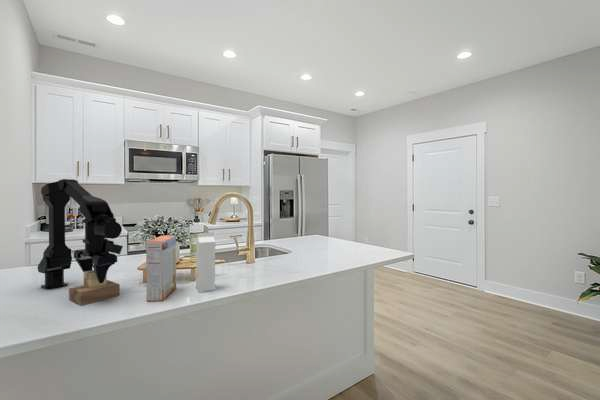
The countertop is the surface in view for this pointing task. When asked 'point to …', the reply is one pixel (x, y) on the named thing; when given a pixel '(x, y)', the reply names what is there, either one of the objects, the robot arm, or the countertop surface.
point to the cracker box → (160, 267)
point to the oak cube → (92, 280)
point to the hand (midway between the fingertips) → (95, 280)
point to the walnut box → (93, 293)
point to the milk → (205, 262)
